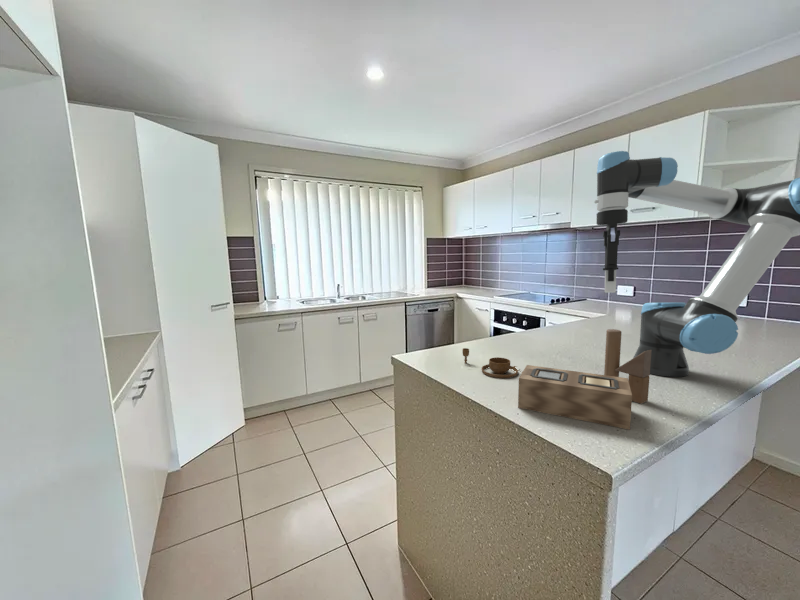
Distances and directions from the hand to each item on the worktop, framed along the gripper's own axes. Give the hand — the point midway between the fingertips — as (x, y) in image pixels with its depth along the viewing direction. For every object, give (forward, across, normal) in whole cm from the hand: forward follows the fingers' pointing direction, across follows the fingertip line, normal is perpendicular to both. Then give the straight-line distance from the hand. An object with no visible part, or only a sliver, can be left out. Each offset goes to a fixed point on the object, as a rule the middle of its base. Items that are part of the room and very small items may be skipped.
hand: (610, 292), depth 98 cm
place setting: (+28, 0, -34) cm, 44 cm away
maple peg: (+28, +23, -4) cm, 36 cm away
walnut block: (+28, +23, -9) cm, 37 cm away
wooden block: (+28, +8, +3) cm, 30 cm away
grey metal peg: (+26, +23, -15) cm, 38 cm away
